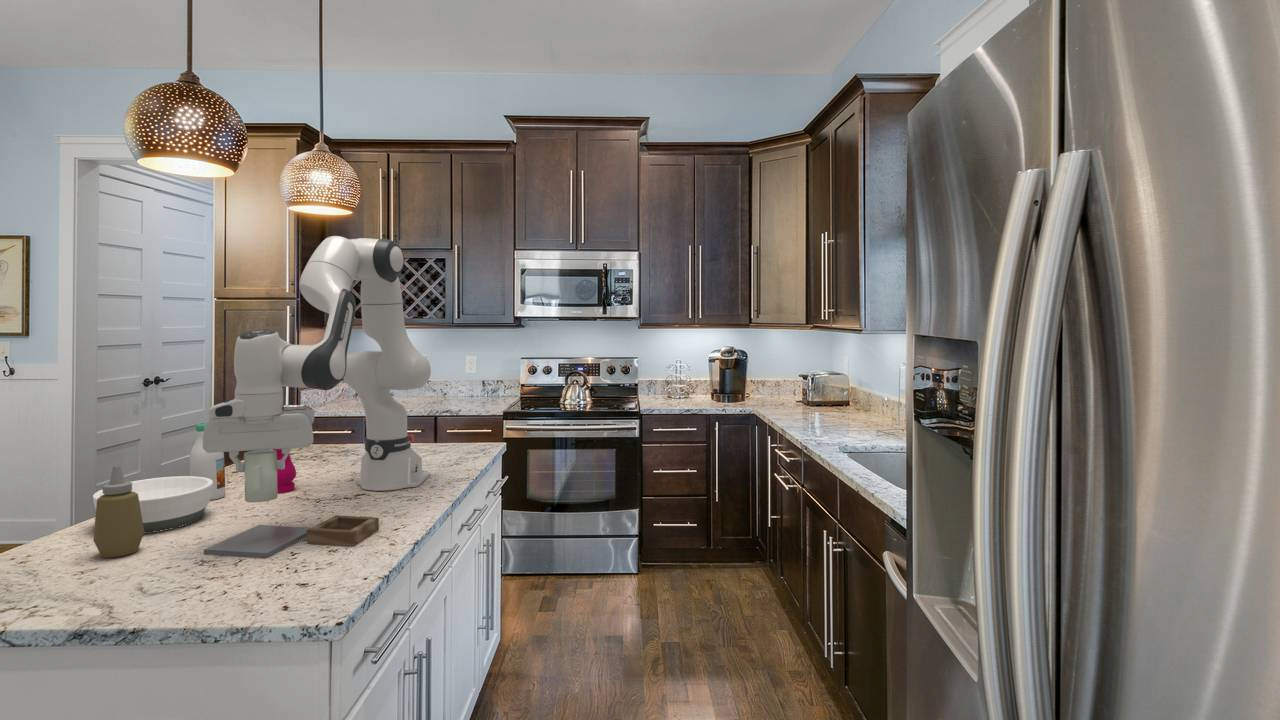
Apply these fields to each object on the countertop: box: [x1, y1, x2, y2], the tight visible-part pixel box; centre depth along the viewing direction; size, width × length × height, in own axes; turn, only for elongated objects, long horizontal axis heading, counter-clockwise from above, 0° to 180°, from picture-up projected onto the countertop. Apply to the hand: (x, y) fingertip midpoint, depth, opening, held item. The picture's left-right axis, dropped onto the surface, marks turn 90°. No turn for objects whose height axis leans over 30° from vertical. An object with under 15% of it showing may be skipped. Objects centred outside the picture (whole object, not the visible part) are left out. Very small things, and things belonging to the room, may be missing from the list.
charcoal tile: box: [203, 524, 312, 559], centre depth 137 cm, size 16×14×1 cm
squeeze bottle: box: [93, 465, 145, 558], centre depth 130 cm, size 8×8×18 cm
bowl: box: [92, 475, 213, 533], centre depth 150 cm, size 22×22×8 cm
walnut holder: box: [306, 515, 380, 547], centre depth 141 cm, size 10×10×3 cm
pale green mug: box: [243, 449, 278, 503], centre depth 135 cm, size 8×6×10 cm
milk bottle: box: [189, 422, 226, 501], centre depth 170 cm, size 8×8×20 cm
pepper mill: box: [271, 449, 297, 494], centre depth 178 cm, size 7×7×20 cm
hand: (260, 470), depth 136 cm, fingers closed on pale green mug, 6 cm apart
